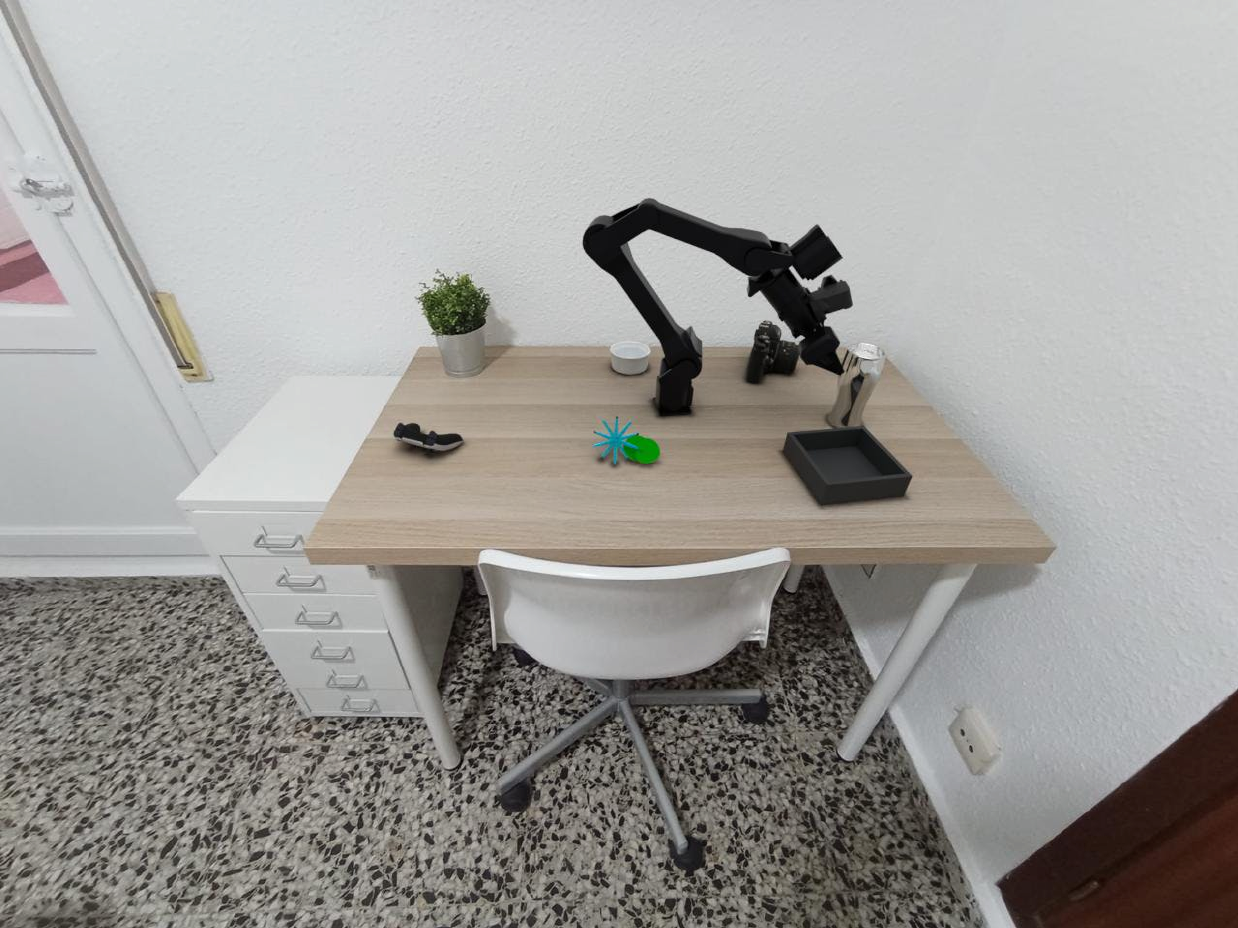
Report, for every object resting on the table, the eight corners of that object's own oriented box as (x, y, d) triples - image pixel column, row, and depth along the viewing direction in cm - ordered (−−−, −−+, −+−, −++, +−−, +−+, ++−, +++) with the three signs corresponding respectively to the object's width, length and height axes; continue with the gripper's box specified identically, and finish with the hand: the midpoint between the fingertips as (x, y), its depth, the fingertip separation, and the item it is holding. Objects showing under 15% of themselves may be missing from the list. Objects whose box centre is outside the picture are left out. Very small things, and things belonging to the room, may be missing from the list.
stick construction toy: (585, 453, 92) (601, 409, 92) (586, 452, 99) (601, 411, 99) (652, 478, 93) (668, 434, 92) (648, 475, 100) (663, 434, 99)
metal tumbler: (870, 428, 105) (896, 356, 95) (839, 434, 103) (863, 361, 94) (847, 410, 110) (870, 340, 101) (817, 415, 108) (838, 344, 99)
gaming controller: (408, 447, 100) (383, 439, 93) (415, 424, 100) (391, 414, 94) (459, 460, 97) (437, 453, 90) (466, 436, 97) (444, 427, 91)
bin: (820, 505, 86) (827, 484, 84) (782, 451, 98) (787, 432, 95) (904, 496, 89) (913, 476, 86) (857, 445, 100) (863, 425, 98)
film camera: (806, 389, 116) (818, 345, 110) (748, 387, 116) (756, 344, 110) (787, 352, 131) (796, 311, 125) (735, 350, 130) (742, 310, 124)
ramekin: (612, 356, 126) (613, 339, 124) (651, 360, 126) (652, 342, 123) (606, 374, 119) (607, 356, 117) (647, 378, 119) (648, 360, 116)
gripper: (842, 285, 82) (894, 358, 88) (821, 249, 97) (866, 314, 103) (778, 330, 88) (830, 396, 93) (767, 290, 102) (813, 349, 108)
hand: (836, 361), depth 99 cm, fingers open, 9 cm apart
